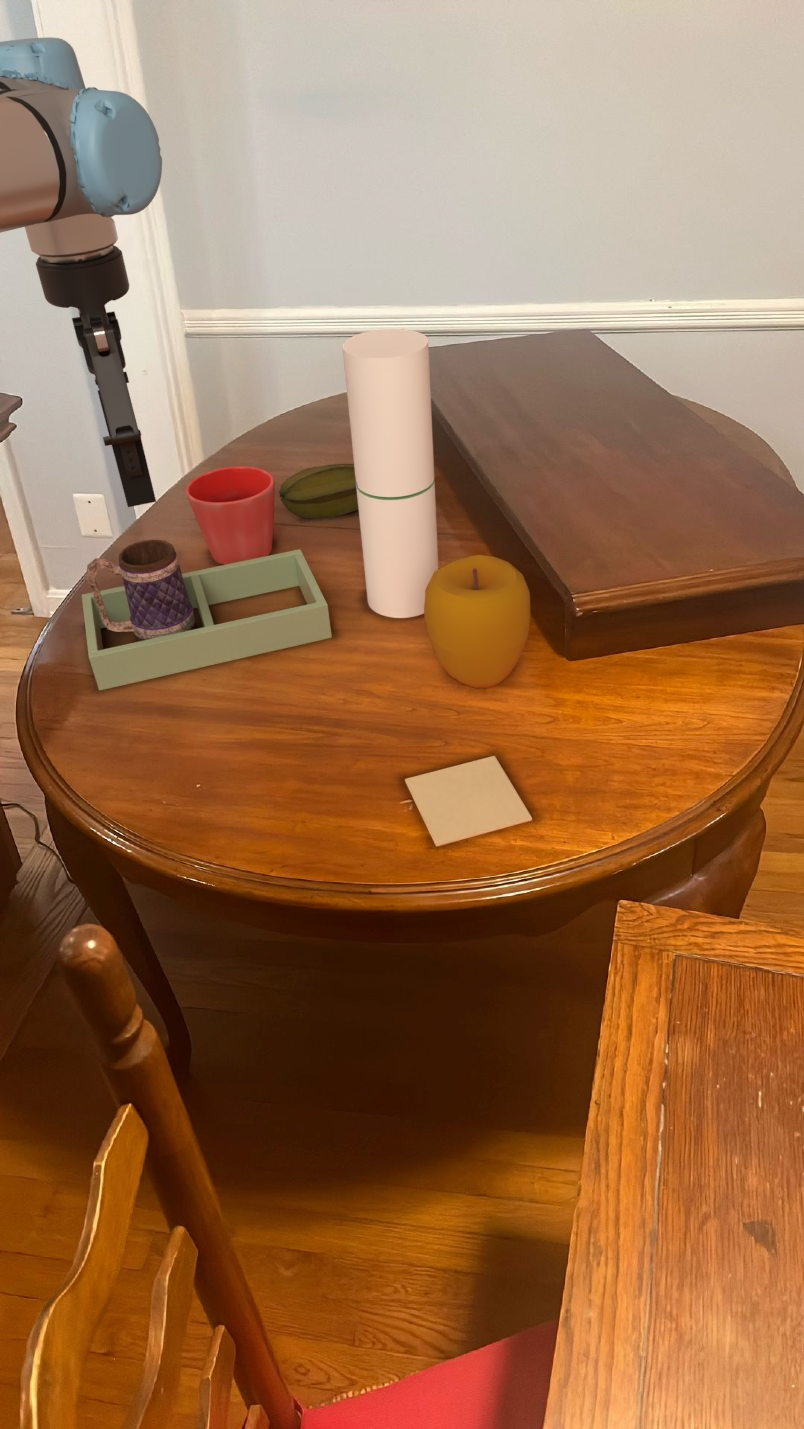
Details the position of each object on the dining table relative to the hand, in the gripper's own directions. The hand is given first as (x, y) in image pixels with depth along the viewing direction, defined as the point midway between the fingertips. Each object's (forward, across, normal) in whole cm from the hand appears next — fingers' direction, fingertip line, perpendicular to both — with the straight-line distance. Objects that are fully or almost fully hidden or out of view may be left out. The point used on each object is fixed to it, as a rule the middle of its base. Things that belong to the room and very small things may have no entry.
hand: (133, 475), depth 101 cm
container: (+21, -2, -27) cm, 34 cm away
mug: (+21, +1, +2) cm, 21 cm away
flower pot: (+21, +17, -11) cm, 29 cm away
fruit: (+21, +23, -25) cm, 40 cm away
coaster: (+21, -37, -21) cm, 47 cm away
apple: (+21, -19, -30) cm, 41 cm away
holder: (+21, 0, -4) cm, 21 cm away
